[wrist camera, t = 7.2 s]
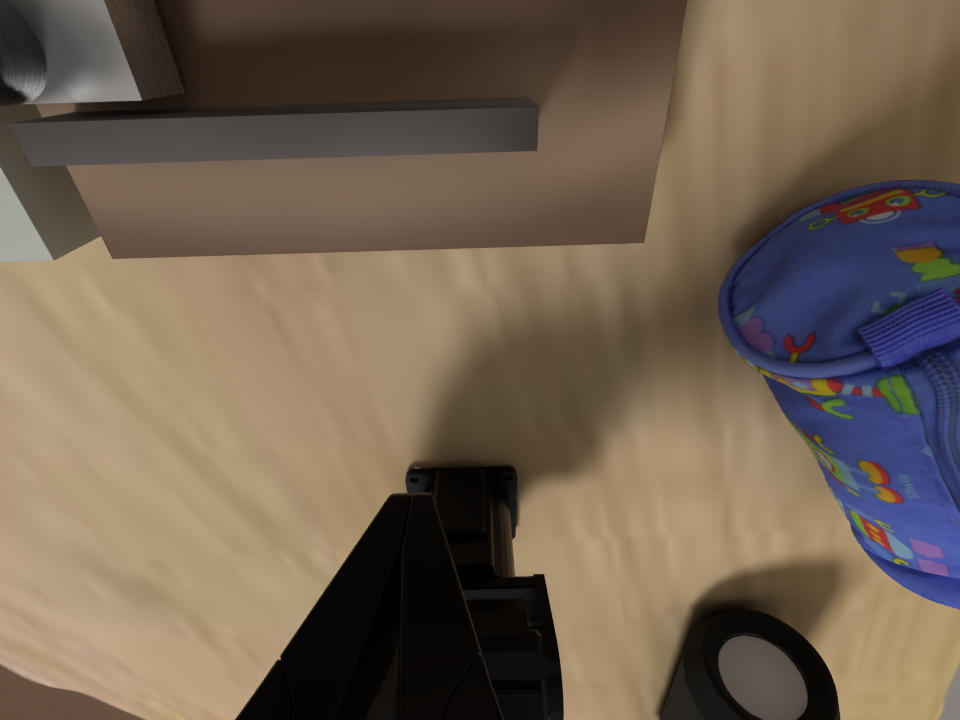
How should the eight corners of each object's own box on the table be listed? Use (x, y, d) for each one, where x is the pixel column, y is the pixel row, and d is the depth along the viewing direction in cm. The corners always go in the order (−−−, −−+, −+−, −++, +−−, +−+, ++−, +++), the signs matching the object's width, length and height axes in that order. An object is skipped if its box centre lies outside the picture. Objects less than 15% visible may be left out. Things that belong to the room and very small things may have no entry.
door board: (614, 207, 19) (667, 270, 14) (174, 221, 19) (62, 288, 14) (676, -253, 12) (825, -471, 7) (-5, -229, 12) (-353, -426, 7)
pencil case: (983, 447, 27) (1191, 613, 19) (832, 510, 30) (957, 675, 22) (873, 135, 18) (1193, 212, 10) (669, 274, 21) (788, 415, 13)
